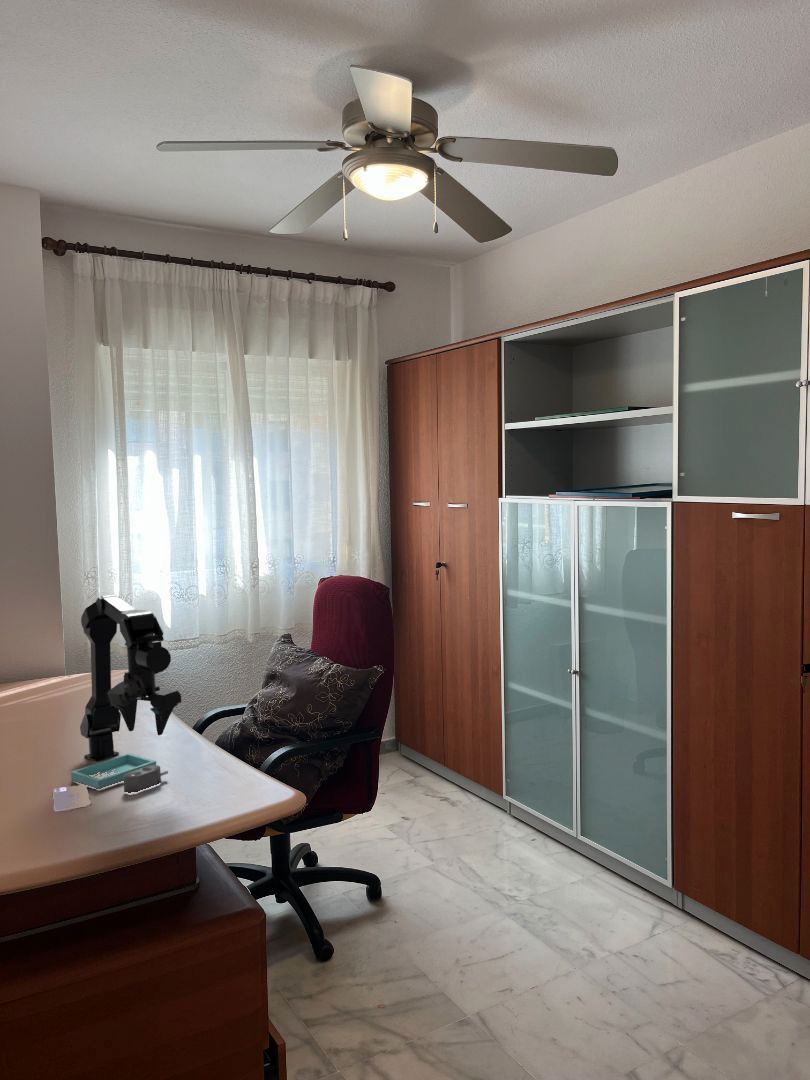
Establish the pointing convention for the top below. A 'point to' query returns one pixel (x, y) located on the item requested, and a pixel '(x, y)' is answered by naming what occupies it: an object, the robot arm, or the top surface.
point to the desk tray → (110, 770)
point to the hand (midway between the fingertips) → (145, 732)
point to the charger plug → (143, 778)
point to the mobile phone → (63, 798)
